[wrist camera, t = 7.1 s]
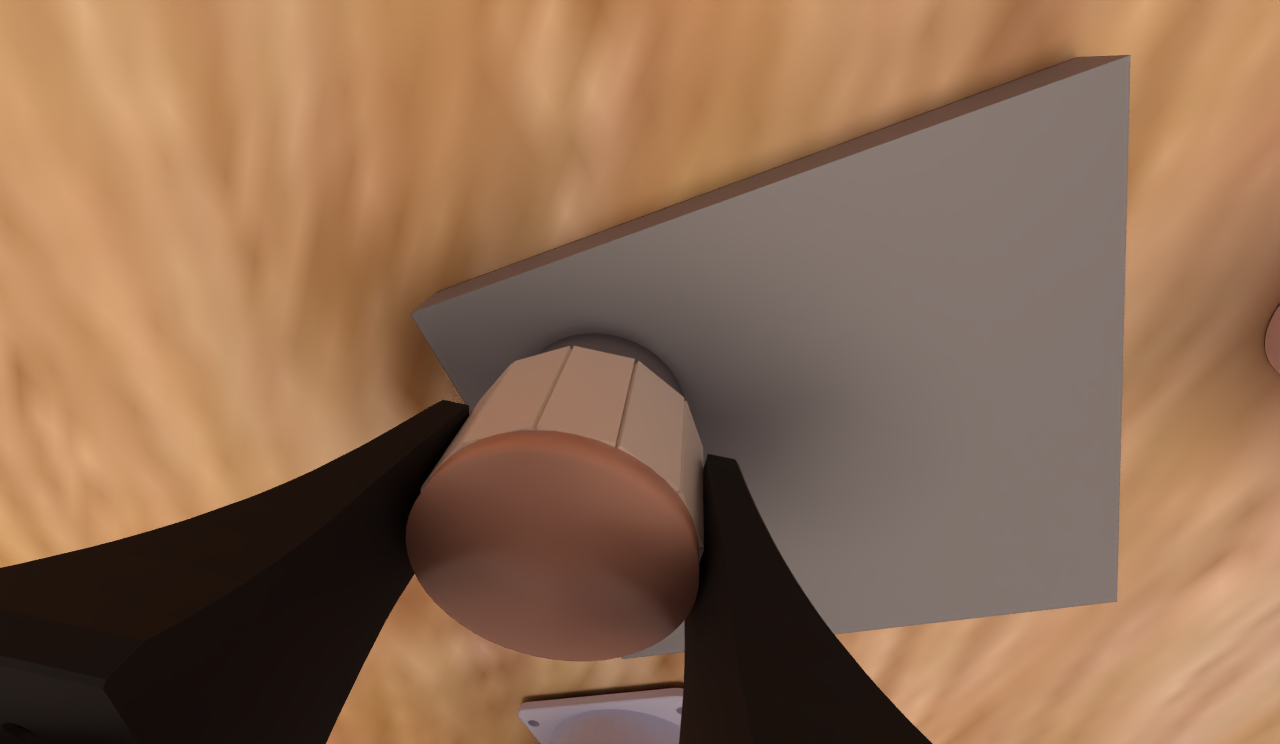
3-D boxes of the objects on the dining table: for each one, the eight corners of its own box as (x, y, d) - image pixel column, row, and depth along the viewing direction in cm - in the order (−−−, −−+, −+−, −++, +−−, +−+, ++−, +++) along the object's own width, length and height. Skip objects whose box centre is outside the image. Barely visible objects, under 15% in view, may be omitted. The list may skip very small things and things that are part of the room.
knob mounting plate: (1084, 558, 16) (1259, 791, 11) (628, 621, 20) (597, 810, 15) (1077, 57, 10) (1450, 41, 5) (437, 291, 14) (280, 415, 9)
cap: (725, 510, 13) (732, 644, 10) (534, 544, 14) (488, 673, 11) (658, 320, 11) (641, 420, 8) (437, 382, 12) (348, 488, 9)
